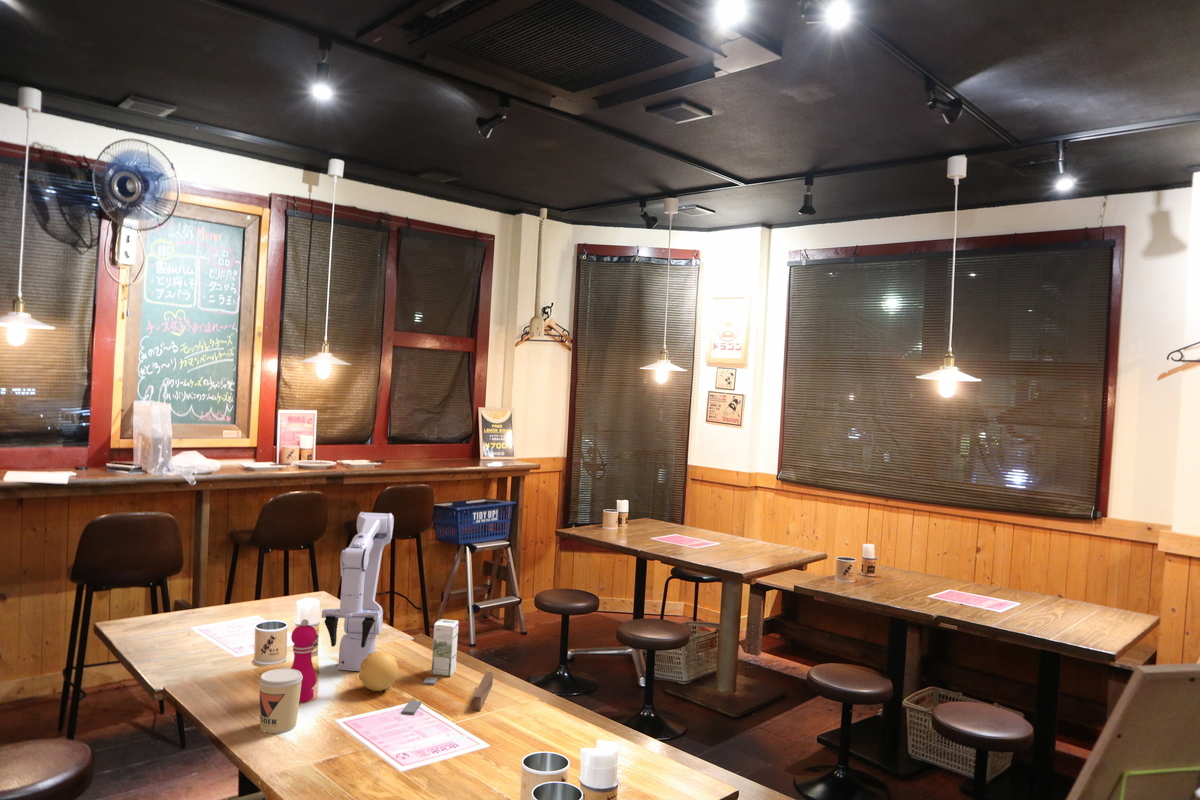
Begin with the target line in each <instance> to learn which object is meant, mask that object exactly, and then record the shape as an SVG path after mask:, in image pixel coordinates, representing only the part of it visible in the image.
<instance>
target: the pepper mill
mask: <svg viewBox="0 0 1200 800" xmlns="http://www.w3.org/2000/svg"><path fill="white" fill-rule="evenodd" d="M300 624H301V625H299V626H296V628H294V629H293V630H292V632H291V636H290V637H291V638H290V639H291V641H292V643H293V645H292V652H293V654H294V657H293V661H292V662H293V663H292V665H291V668H290V669H295V670H298V671H300V672H301V674H302V676H303V679H302V682H301V691H300V699H299V702H302V703H306V702H305V701H307V702H309V700H310V701H311V700H312V699H314V694H315V691H314V689H313V688H314V687H315V686H316V685H317V674H316V673H317V672H316V671H315V668H314V665H313V661H312V653H313V651H314V649H315V648H314V646H315V645H314V642H315V641H316V639H317V637H318V636H317V634H318V633H317V630H316V629H315V627H314V626H312V625H309V621H308V619H302V620H301V622H300Z"/></svg>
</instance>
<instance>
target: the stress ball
mask: <svg viewBox="0 0 1200 800" xmlns="http://www.w3.org/2000/svg"><path fill="white" fill-rule="evenodd" d="M398 665H399V664H398V662H397V660H396V658H395V657H394V656H393V655H392V654H390V653H389V652H386V651H383V650H382V651H379V650H378V651H375V652H374V653H370V654H369V655H368V656H367V657H366V658H365V659H364V660H363V661H362V663H361V666H360V671H358V672H359V674H358V678H359V680H360V682H361V683H362V685H363V686H364V687H365V688H367V689H369V690H370V691H372V690H374V691H373V692H375V691H380V690H381V691H380V692H383V690H386V689H387V688H390V686H392V685H393V684H394V682H395V681H396V679H397V678H398V677H397V676H398V672H399V666H398Z"/></svg>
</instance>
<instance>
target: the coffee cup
mask: <svg viewBox="0 0 1200 800" xmlns="http://www.w3.org/2000/svg"><path fill="white" fill-rule="evenodd" d="M302 679H303V676H302V674H301V672H300V671H298V670H295V669H291V668H276V669H271V670H267V671H265V672H263V673H262V674H261V675H260V677H259V680H258V682H259V683H258V684H259V726H260V727H259V728H260V730H261V732H263V731H265V732H268V733H267V734H271V733H276V734H284V733H287V732H290V731H292V730H293V729H295V728H296V725H297V721H298V713H299V706H300V705H299V704H300V703H299V699H300V691H301V682H302ZM294 727H295V728H294ZM265 732H264V733H265ZM283 732H284V733H283Z"/></svg>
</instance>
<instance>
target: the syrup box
mask: <svg viewBox="0 0 1200 800" xmlns="http://www.w3.org/2000/svg"><path fill="white" fill-rule="evenodd" d="M458 635H459V620H453V619H442V618H441V619H438V620H437V621H435V623H434V625H433V639H432V640H433V642H432V656H431V657H432V658H431V675H433V676H442V677H451V676H452V675H453V674H454V673H455V671H456V669H457V652H458Z"/></svg>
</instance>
